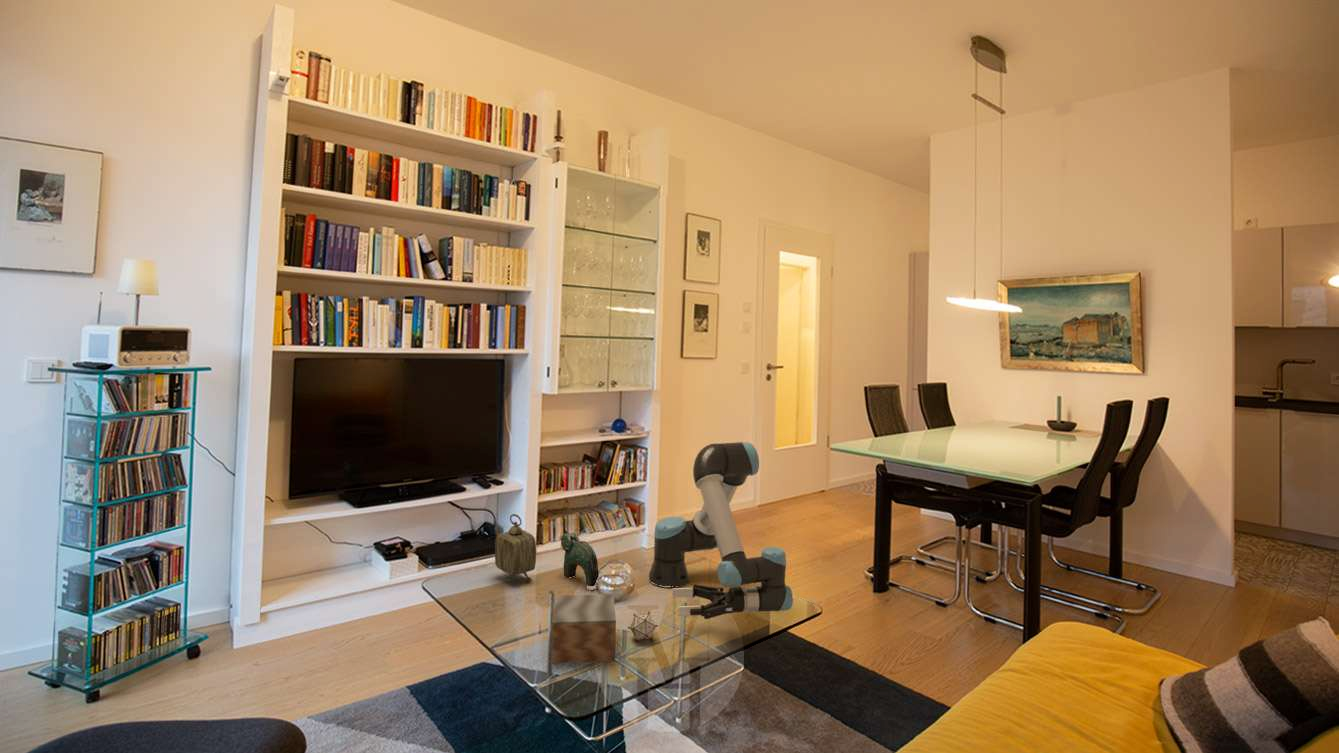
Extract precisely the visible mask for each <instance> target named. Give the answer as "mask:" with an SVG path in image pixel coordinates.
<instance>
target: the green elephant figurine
mask: <svg viewBox="0 0 1339 753" xmlns="http://www.w3.org/2000/svg"><path fill="white" fill-rule="evenodd" d="M576 531H577V533H578V534H581V532H580V530H579V529H578V528H576V529H574V532H568V531H567V530H566V529H565V530H564V533H563V535H562V536H561V538H560V547H561V549H562V550H564V551H565V552H564V559H563V577H564V576H565V577H564V578H566V577H567V578H569V577H573V576H575V575H576V576H577V568H578V566H579V567H581V569H582V570H583V573H584V577H585V584H586V586H587V585H588V586H594V585H595V583H596V580H597V578H598V579H599V575H600V573H599V572H600V571H599V564H598V557H597V554H596V552H595V550H594V549H593V547H592V546H591V545H590V544H589V543H588V542H586V540H585V541H584V540H580V538H579V536H578V534H577V533H576ZM567 578H566V579H567ZM573 578H574V577H573Z"/></svg>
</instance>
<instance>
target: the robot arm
mask: <svg viewBox="0 0 1339 753" xmlns="http://www.w3.org/2000/svg"><path fill="white" fill-rule="evenodd" d="M759 459H760V457H759V454H758V451H757V449H756V447H755V446H754V445H753V444H752V443H750V442H747V441H746V442H745V441H743V442H742V441H738V442H723V443H710V444H708V445H706V446H704V447H703V448H702V449H701V450H700V451H699V452H698V453H697V455H696V457H695V459H694V463H693V469H692V470H693V471H692V472H693V476H692V477H693V480H694V484H695V487H696V488H697V489H699V490H700V493H701V496H702V500H703V505H702V508H701V510H698V511H697V512H696V513H695V514H694V516H693V518H692V519H689V520H686V519H685V518H683V517H681V516H669V517H664V518H662V519H660V520H659V521H657V522H656V524H655V527H654V533H653V535H654V539H653V540H654V541H653V542H654V548H653V549H654V551H653V552H654V553H653V562H652V564H651V567H650V570H649V573H648V581H649V580H650V581H651V582H653V583H655V584H657V585H662V586H671V587H672V586H673V587H676V586H681V585H684V584H686V583H687V584H689V581H688V580H689V579H690V577H689V576H690V575H689V572H688V569H687V565H686V562H685V560H686V559H685V556H686V555H685V554H686V553H689V552H691V553H692V552H698V551H700V552H701V551H709V550H711V551H712V550H714V549H718V551H719V555H720V559H721V562H719V563H718V566H717V577H718V578H717V579H718V580H719V583H720V584H721V585H722V586H724V587H726V588H727V587H730V588H729V589H728V591H727V592H725V591H724V587H715V586H709V585H708V586H707V585H701V584H693V586H692V587H682V586H681V588H680V587H676V588H672V591H671V592H672V593H671V596H672V598H673V599H674V598H694V597H698V598H702V599H705V600H709V601H710V603H707V604H706V605H703V604H701V605H681V606H680V605H679V606H678V613H677V614H678V617H691V616H692V617H693V616H701V617H703V619H705V620H709V619H711V618H716V617H719V616H722V615H726V614H727V615H729V614H732V613H743V612H744V613H751V614H752V613H755V612H756V613H757V612H784V611H789V610H791V609H792V607H793V604H794V598H793V591H792V588H791V587H790V586H789V585H787V584H786V571H787V570H786V569H787V556H786V552H785V550H783V549H782V548H779V547H776V546H775V547H774V546H770V547H769V546H768V547H765V548H763V549H762V551H761V554H760V555H761V556H756V557H755V556H753V557H748V558H747V556H746V553H745V550H744V546H743V544H742V541H741V537H740V535H739V532H738V529H737V525H736V523H735V522H736V521H735V520H734V516H733V513H732V510H731V507H730V504H731V502H732V500H733V497H734V496H735V493H736V491H737V489H738V487H740V486H743V485H744V484H745V482H746V481H747V479H748V476H754V475H757V473H758V472H759V468H760V460H759ZM650 581H649V582H650ZM758 583H760V584H761V585H759V586H754V585H753V586H752V585H751V586H745V585H749V584H758ZM687 584H686V585H687ZM684 586H685V585H684ZM741 586H743V587H741Z"/></svg>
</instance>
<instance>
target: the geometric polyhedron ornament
mask: <svg viewBox="0 0 1339 753" xmlns="http://www.w3.org/2000/svg"><path fill="white" fill-rule="evenodd" d="M650 613H651V611H648V613H646V614H645V613H644V614H638V615H637V614H635V613H633V616H634V617H633V619H632V621H631V624H630V626H628V627H627V629H628V630H630V631H631V632H632V634H633V636H634V638H635V643H637V642H638V641H640V640H648V639H649V640H650V641H653V639H652V636H653V633H654V631H655V629H656V628H658V627H659V625H658V624H655V622H654V620H653V619H652V617H651V615H650Z"/></svg>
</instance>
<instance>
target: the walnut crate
mask: <svg viewBox="0 0 1339 753" xmlns="http://www.w3.org/2000/svg"><path fill="white" fill-rule="evenodd" d="M614 597H615V596H614V593H611V594H607V593H606V594H605V593H603V594H575V595H574V594H571V595H565V594H564V595H555V596H554V604H553V606H554V607H553V614H552V622H551V636H552V637H551V664H562V663H564V664H566V663H585V662H587V663H588V662H614V661H616V634H617V633H616V631H617V626H616V625H617V618H616V617H617V616H616V608H615V598H614Z"/></svg>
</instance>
